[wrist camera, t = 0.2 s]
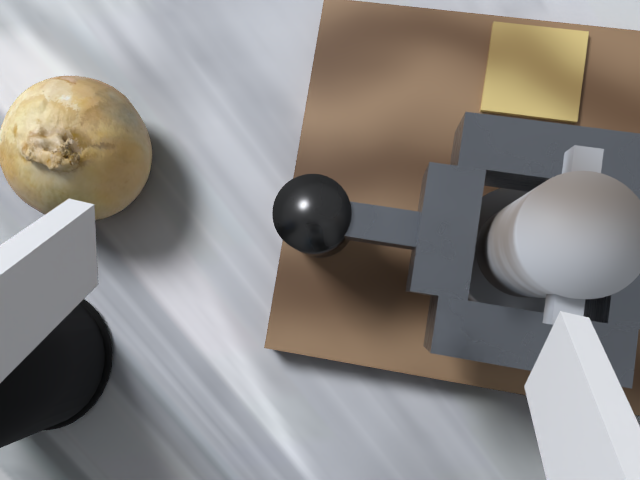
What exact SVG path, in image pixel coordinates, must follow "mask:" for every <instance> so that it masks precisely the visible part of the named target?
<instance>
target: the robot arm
mask: <svg viewBox="0 0 640 480" xmlns="http://www.w3.org/2000/svg"><path fill="white" fill-rule="evenodd" d="M97 285H98V267H97V247H96V228H95V208H94V204H91V203H86V202H82V201H77V200H73V199H67V200H66V201H65V202H63V203H62V204H60V205H59V206H57V207H56V208H54V209H53V210H51V211H50V212H48V213H47V214H45V215H44V216H42V217H41V218H40V219H38V220H37V221H35V222H34V223H32V224H31V225H29V226H28V227H26V228H25V229H23V230H22V231H20V232H19V233H18V234H16V235H15V236H13V237H12V238H10V239H9V240H7V241H6V242H4V243H3V244H1V245H0V383H1V382H2V381H3V380H4V379H5V378H6V377H7V376H8V375H9V374H10V373H11V372H12V371H13V370H14V369H15V368H16V367H17V366H18V365H19V364H20V363H21V362H22V361H23V360H24V359H25V358H26V357H27V356H28V355H29V354H30V353H31V352H32V351H33V350H34V349H35V348H36V347H37V346H38V345H39V344H40V343H41V342H42V341H43V340H44V338H45V337H46V336H47V335H48V334H49V333H50V332H51V331H52V330H53V329H54V328H55V327H56V326H57V325H58V324H59V323H60V322H61V321H62V320H63V319H64V318H65V317H66V316H67V315H68V314H69V313H70V312H71V311H72V310H73V309H74V308H75V307H76V306H77V305H78V304H79V303H80V302H81V301H82V300H83V299H84V298H85V297H86V296H87V295H88V294H89V293H90V292H91V291H92V290H93V289H94V288H95V287H96V286H97ZM524 387H525V392H526V396H527V400H528V404H529V408H530V413H531V417H532V421H533V425H534V429H535V434H536V438H537V442H538V446H539V450H540V455H541V459H542V463H543V467H544V471H545V475H546V480H640V426H639V424H638V422H637V419H636V417H635V415H634V413H633V411H632V409H631V407H630V404H629V402H628V400H627V398H626V396H625V394H624V391H623V389H622V387H621V385H620V383H619V381H618V379H617V376H616V374H615V372H614V370H613V368H612V366H611V363H610V361H609V359H608V357H607V355H606V353H605V351H604V348H603V346H602V344H601V342H600V340H599V338H598V336H597V333H596V331H595V329H594V327H593V325H592V323H591V320H590V318H589V317H584V316H580V315H575V314H571V313H567V312H562V311H560V312H559V314H558V317H557V319H556V321H555V323H554V325H553V327H552V329H551V331H550V333H549V335H548V338H547V340H546V342H545V344H544V346H543V348H542V350H541V352H540V354H539V356H538V358H537V361H536V363H535V365H534V367H533V369H532V371H531V373H530V375H529V377H528V379H527V382H526V384H525V386H524Z"/></svg>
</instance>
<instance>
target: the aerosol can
mask: <svg viewBox="0 0 640 480" xmlns="http://www.w3.org/2000/svg"><path fill="white" fill-rule="evenodd" d="M111 364H112V348H111V341H110V337H109V334H108V331H107V328H106V325H105V323H104V322H103V320H102V318H101V317H100V315H99V313H98V312H97V311H96V310H95V309H94V308H93V307H92V306H91V304H89V303H88V302H87V301H85V300H84V299H83V300H82V301H81V302H80V303H79V304H78V305H77V306H76V307H75V308H74V309H73V310H72V311H71V312H70V313H69V314H68V315H67V316H66V317H65V318H64V319H63V320H62V321H61V322H60V323H59V324H58V325H57V326H56V327H55V328H54V329H53V330H52V331H51V332H50V333H49V334H48V335H47V336H46V337H45V338H44V340H43V341H42V342H41V343H40V344H39V345H38V346H37V347H36V348H35V349H34V350H33V351H32V352H31V353H30V354H29V355H28V356H27V357H26V358H25V359H24V360H23V361H22V362H21V363H20V364H19V365H18V366H17V367H16V368H15V369H14V370H13V371H12V372H11V373H10V374H9V375H8V376H7V377H6V378H5V379H4V380H3V381H2V382H1V383H0V448H1V447H3V446H6V445H8V444H11V443H13V442H15V441H18V440H20V439H23V438H25V437H27V436H30V435H32V434H34V433H37V432H39V431H42V430H51V429H56V428H61V427H63V426H66V425H68V424H71V423H73V422H74V421H76V420H77V419H79V418H80V417H82V416H83V415H85V414H86V413H87V412H88V411H89V410H90V409H91V408H92V407H93V406H94V404H95V403H96V402H97V400H98V399H99V397H100V396H101V394H102V393H103V390H104V388H105V386H106V384H107V381H108V378H109V374H110V370H111Z"/></svg>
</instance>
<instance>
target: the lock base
mask: <svg viewBox="0 0 640 480" xmlns="http://www.w3.org/2000/svg"><path fill="white" fill-rule="evenodd" d="M465 112H473V113H481V114H489V115H497V116H504V117H512V118H520V119H528V120H536V121H544V122H552V123H560V124H568V125H576V126H584V127H592V128H600V129H608V130H616V131H624V132H632V133H640V31H636V30H626V29H617V28H607V27H598V26H588V25H579V24H569V23H560V22H551V21H541V20H532V19H522V18H513V17H503V16H494V15H484V14H475V13H465V12H456V11H447V10H437V9H428V8H418V7H409V6H399V5H390V4H380V3H371V2H362V1H352V0H324V3H323V9H322V14H321V20H320V26H319V32H318V38H317V44H316V49H315V55H314V61H313V67H312V73H311V79H310V84H309V90H308V96H307V102H306V108H305V114H304V119H303V125H302V131H301V137H300V143H299V149H298V154H297V160H296V166H295V172H294V178H296V177H298V176H301V175H305V174H321V175H324V176H327V177H329V178H331V179H333V180H335V181H336V182H337V183H339V184H340V185H341V186H342V188H343V189H344V190H345V192H346V193H347V195H348V198H349V200H350V201H351V202H358V203H365V204H371V205H378V206H385V207H392V208H399V209H405V210H412V211H418V205H419V198H420V191H421V185H422V178H423V175H424V173H425V171H426V168H427V166H428V164H429V162H434V163H441V164H449V165H450V161H451V154H452V147H453V140H454V134H455V131H456V129H457V127H458V125H459V123H460V121H461V119H462V117H463V116H464V114H465ZM603 152H604V149H601V148H593V147H585V146H577V145H574V146H573V147H571V148H570V149H569V150H567V151H566V152H565V153H564V160H563V168H562V174H560V175H557V176H555V177H552V178H550V179H548V180H547V181H545V182H544V183H542V184H541V185H539V186H537V187H536V188H534V189H533V190H531V191H530V192H526V191H519V190H512V189H505V188H498V187H491V186H484V189H483V196H482V203H481V210H480V217H479V224H478V231H477V238H476V246H475V253H474V260H473V267H472V274H471V281H470V288H469V295H468V301H474V302H480V303H486V304H492V305H498V306H504V307H510V308H516V309H522V310H528V311H535V312H541V313H544V315H543V323H546V324H552V325H554V323H555V321H556V319H557V317H558V314H559V312H560V311H562V312H567V313H571V314H575V315H580V316H583V315H584V307H585V299H596V298H603V297H606V296H609V295H612V294H614V293H617V292H619V291H621V290H622V289H624V288H625V287H627V286H628V285H629V284H630V283H632V282H633V281H634V280H635V279H636V278H637V277H638V275H639V274H640V200H639V198H638V197H637V196H636V195H635V194H634V193H633V191H632V190H631V189H629V188H628V187H627V186H626V185H624V184H623V183H621V182H620V181H618V180H617V179H615V178H612V177H610V176H608V175H605V174H602V173H601V169H602V160H603ZM294 178H293V179H294ZM411 251H412V250H409V249H402V248H396V247H389V246H383V245H376V244H370V243H364V242H357V241H351V240H350V241H349V242H348V244H347V245H346V246H345V247H344V249H342V250H341V251H340V252H338V253H337V254H335V255H333V256H330V257H325V258H314V257H310V256H307V255H305V254H303V253H301V252H300V251H298V250H296V249H294V248H293V247H291V246H290V245H288V244H287V243H286V242H285V241H284V240H283V242H282V248H281V253H280V259H279V265H278V271H277V277H276V283H275V288H274V294H273V300H272V306H271V312H270V318H269V323H268V329H267V335H266V341H265V347H264V348H268V349H273V350H279V351H284V352H290V353H295V354H301V355H306V356H312V357H317V358H323V359H328V360H334V361H340V362H345V363H351V364H356V365H362V366H367V367H373V368H378V369H384V370H389V371H395V372H400V373H406V374H411V375H417V376H422V377H428V378H433V379H439V380H445V381H450V382H456V383H461V384H467V385H472V386H478V387H483V388H489V389H494V390H500V391H505V392H511V393H516V394H522V395H526V392H525V387H524V386H525V384H526V382H527V379H528V377H529V375H530V373H531V371H529V370H523V369H517V368H512V367H506V366H500V365H495V364H489V363H483V362H478V361H472V360H466V359H461V358H455V357H449V356H444V355H438V354H432V353H430V352H429V351H428V350H427V349H426V348H425V347H424V346H423V345H424V338H425V331H426V324H427V317H428V310H429V304H430V297H431V295H425V294H419V293H413V292H407V291H406V284H407V278H408V271H409V264H410V258H411ZM622 389H623V391H624V394H625V396H626V398H627V400H628V402H629V404H630V407H631V409H632V411H633V413H634V415H638V416H640V330H639V332H638V341H637V350H636V359H635V368H634V376H633V385H632V389H631V388H625V387H622Z"/></svg>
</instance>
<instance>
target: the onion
mask: <svg viewBox="0 0 640 480" xmlns="http://www.w3.org/2000/svg"><path fill="white" fill-rule="evenodd" d="M151 161H152V146H151V141H150V137H149V134H148V131H147V128H146V126H145V124H144V122H143V120H142V119H141V117H140V115H139V114H138V112H137V111H136V109H135V108H134V106H133V105H132V104H131V103H130V101H129V100H128V99H127V97H126V96H124V95H123V94H122V93H121V92H119V91H118V90H116V89H115V88H114V87H112V86H110V85H108V84H106V83H103V82H101V81H98V80H95V79H91V78H86V77H79V76H59V77H54V78H50V79H46V80H44V81H42V82H39V83H36V84H34V85H33V86H31V87H30V88H28V89H27V90H25V91H24V92H23V93H22V94H21V95H20V96H19V97H18V98H17V99H16V100H15V102H14V103H13V104H12V106H11V107H10V109H9V111H8V112H7V114H6V117H5V119H4V121H3V124H2V126H1V129H0V164H1V168H2V170H3V173H4V175H5V178H6V180H7V181H8V183H9V185H10V186H11V188H12V189H13V190H14V191H15V193H16V194H17V195H18V196H19V197H20V198H21V199H22V200H23V201H24V202H25V203H27V204H28V205H30V206H31V207H33V208H34V209H36V210H38V211H39V212H41V213H43V214H47V213H48V212H50V211H51V210H53V209H54V208H56V207H57V206H59V205H60V204H62V203H63V202H65V201H66V200H67V199H73V200H77V201H82V202H86V203H91V204H94V208H95V220H98V219H104V218H107V217H110V216H112V215H114V214H116V213H118V212H120V211H122V210H123V209H124V208H126V207H127V206H128V205H129V204H130V203H131V202H133V200H134V199H136V197H137V196H138V195H139V194H140V192H141V190H142V189H143V187H144V185H145V184H146V182H147V180H148V177H149V173H150V169H151Z"/></svg>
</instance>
